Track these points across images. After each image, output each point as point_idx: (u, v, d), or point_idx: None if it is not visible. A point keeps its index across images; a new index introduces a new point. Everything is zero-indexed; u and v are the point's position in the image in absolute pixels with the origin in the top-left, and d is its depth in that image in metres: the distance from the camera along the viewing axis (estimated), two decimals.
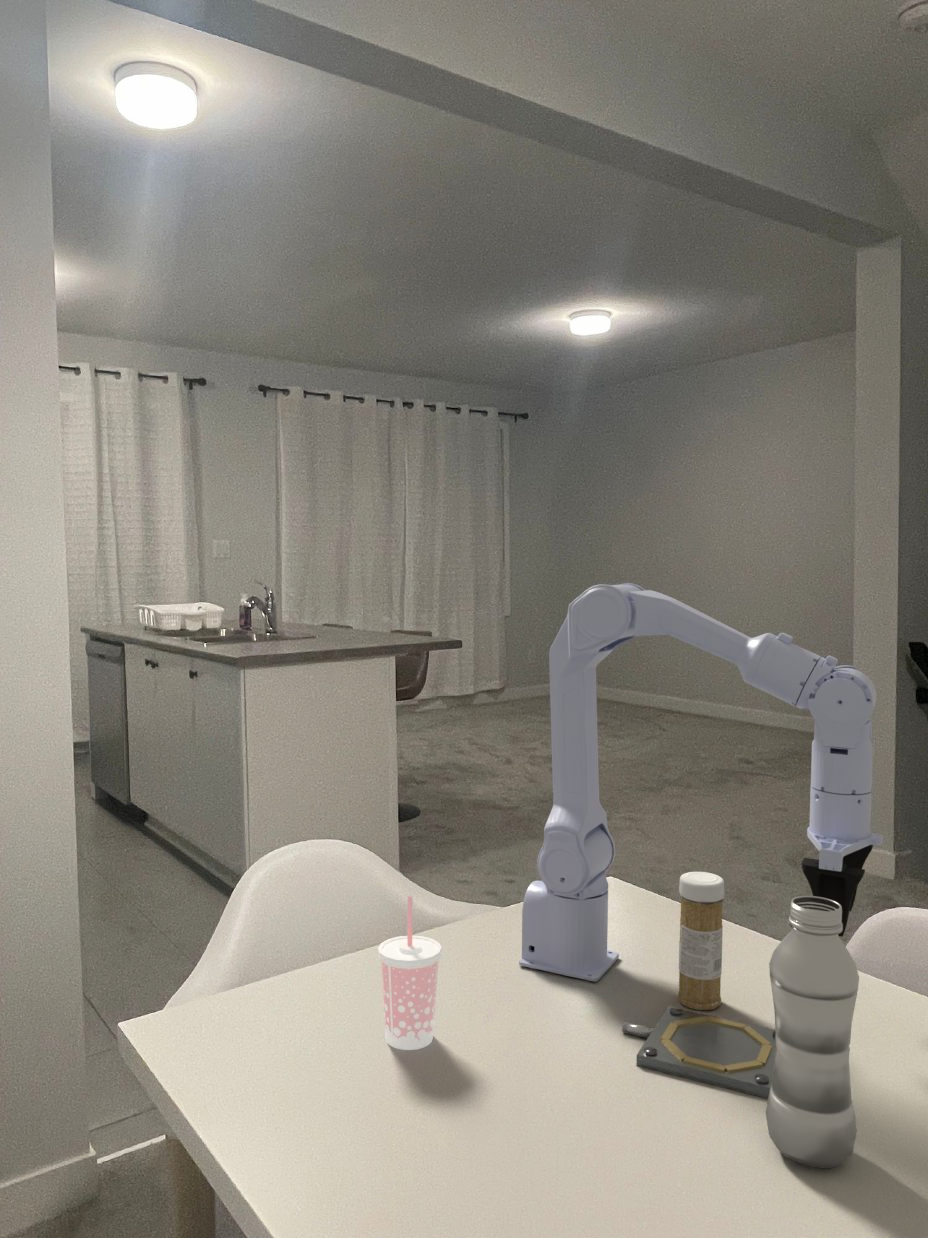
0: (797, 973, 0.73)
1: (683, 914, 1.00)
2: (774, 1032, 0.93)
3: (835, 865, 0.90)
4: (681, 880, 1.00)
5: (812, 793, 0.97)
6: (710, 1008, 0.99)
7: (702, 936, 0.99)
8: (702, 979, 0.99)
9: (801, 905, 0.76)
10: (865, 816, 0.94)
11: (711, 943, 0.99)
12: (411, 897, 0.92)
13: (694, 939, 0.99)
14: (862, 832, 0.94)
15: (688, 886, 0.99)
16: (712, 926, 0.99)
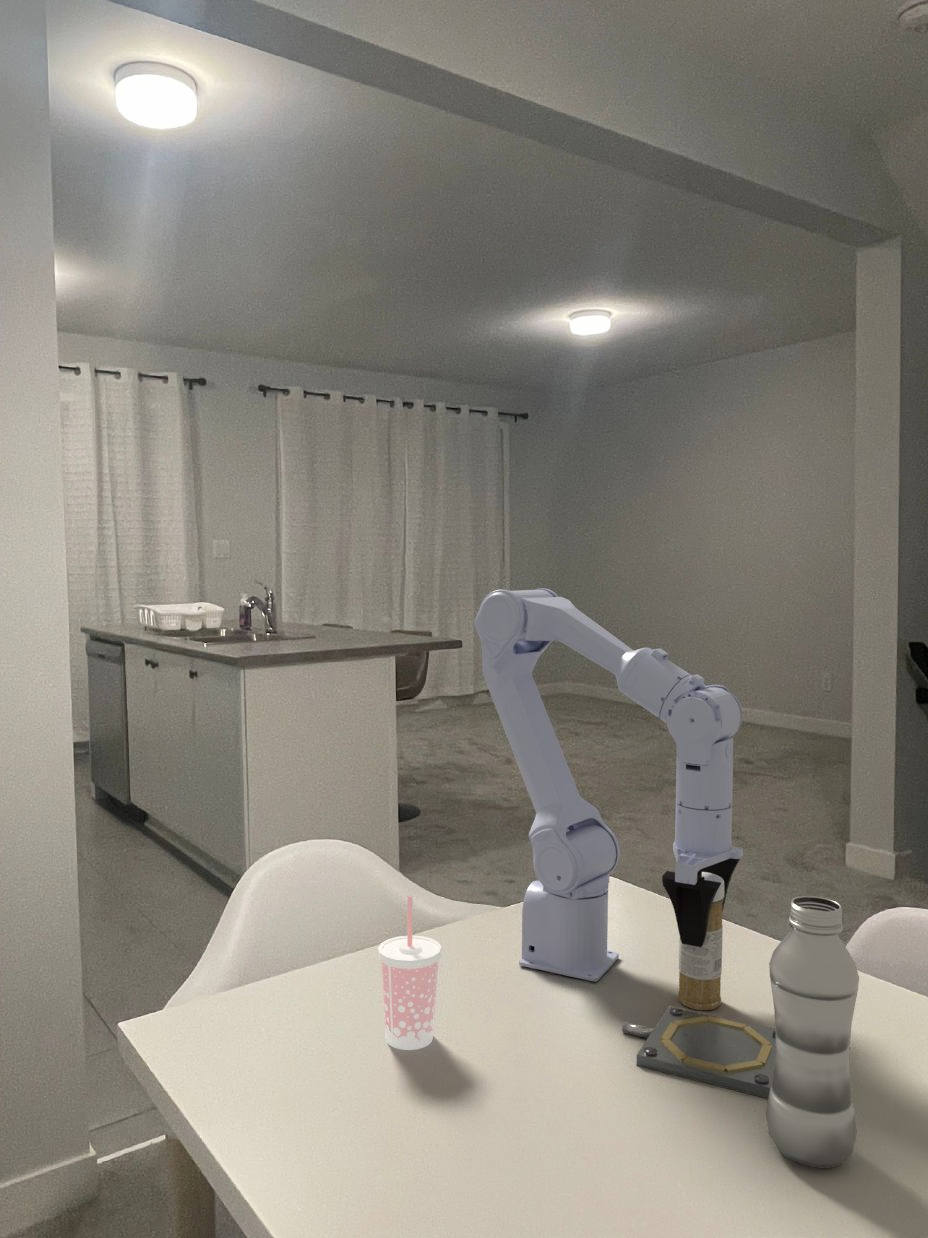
0: (797, 973, 0.73)
1: None
2: (774, 1032, 0.93)
3: (689, 878, 0.94)
4: None
5: (676, 808, 1.00)
6: (710, 1008, 0.99)
7: None
8: (702, 979, 0.99)
9: (801, 905, 0.76)
10: (724, 830, 0.98)
11: (711, 943, 0.99)
12: (411, 897, 0.92)
13: None
14: (721, 846, 0.98)
15: None
16: (712, 926, 0.99)
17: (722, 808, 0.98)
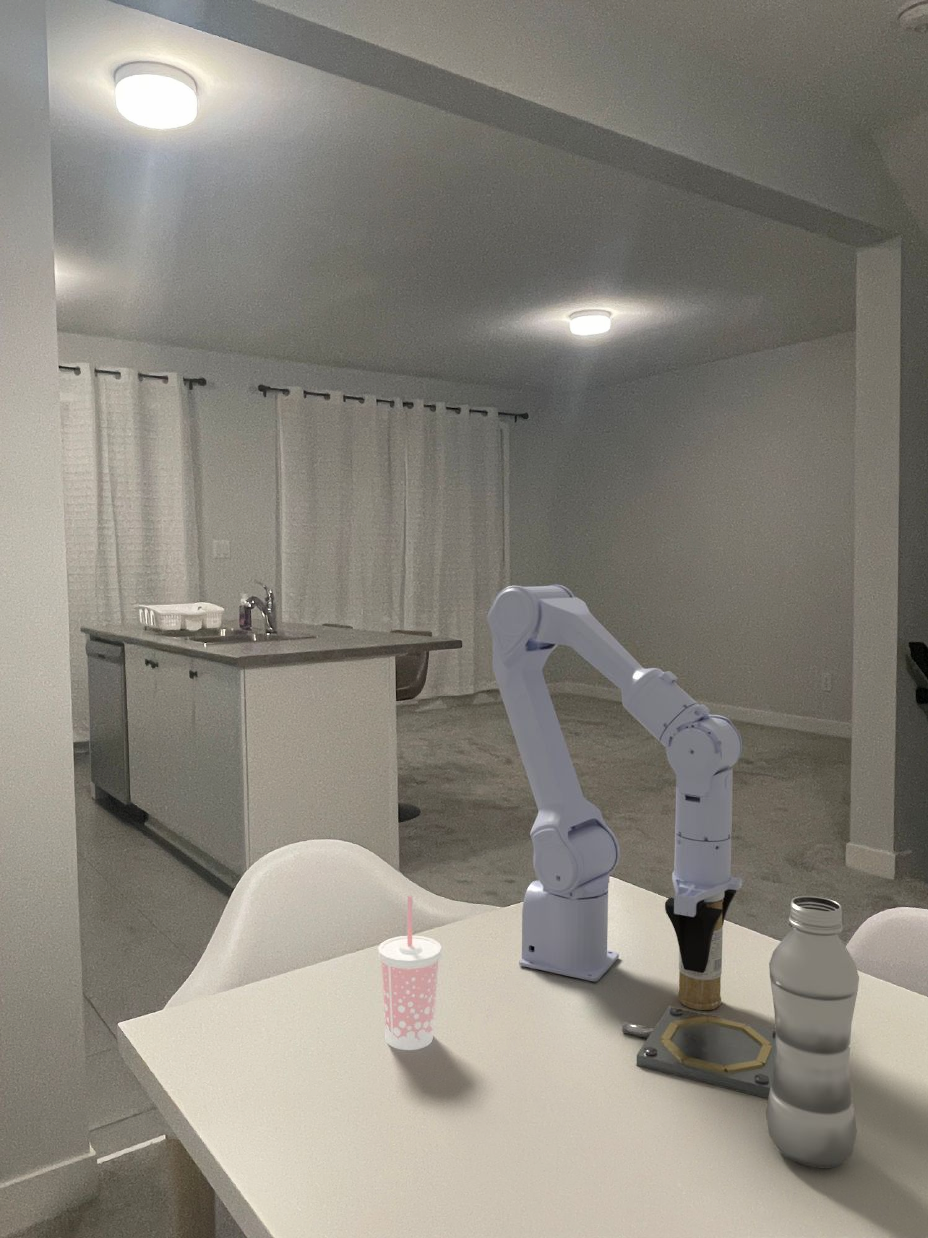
0: (797, 973, 0.73)
1: None
2: (774, 1032, 0.93)
3: (688, 911, 0.94)
4: None
5: (675, 838, 1.00)
6: (710, 1008, 0.99)
7: None
8: (702, 979, 0.99)
9: (801, 905, 0.76)
10: (723, 862, 0.98)
11: (711, 943, 0.99)
12: (411, 897, 0.92)
13: None
14: (720, 877, 0.98)
15: None
16: None
17: (721, 839, 0.98)
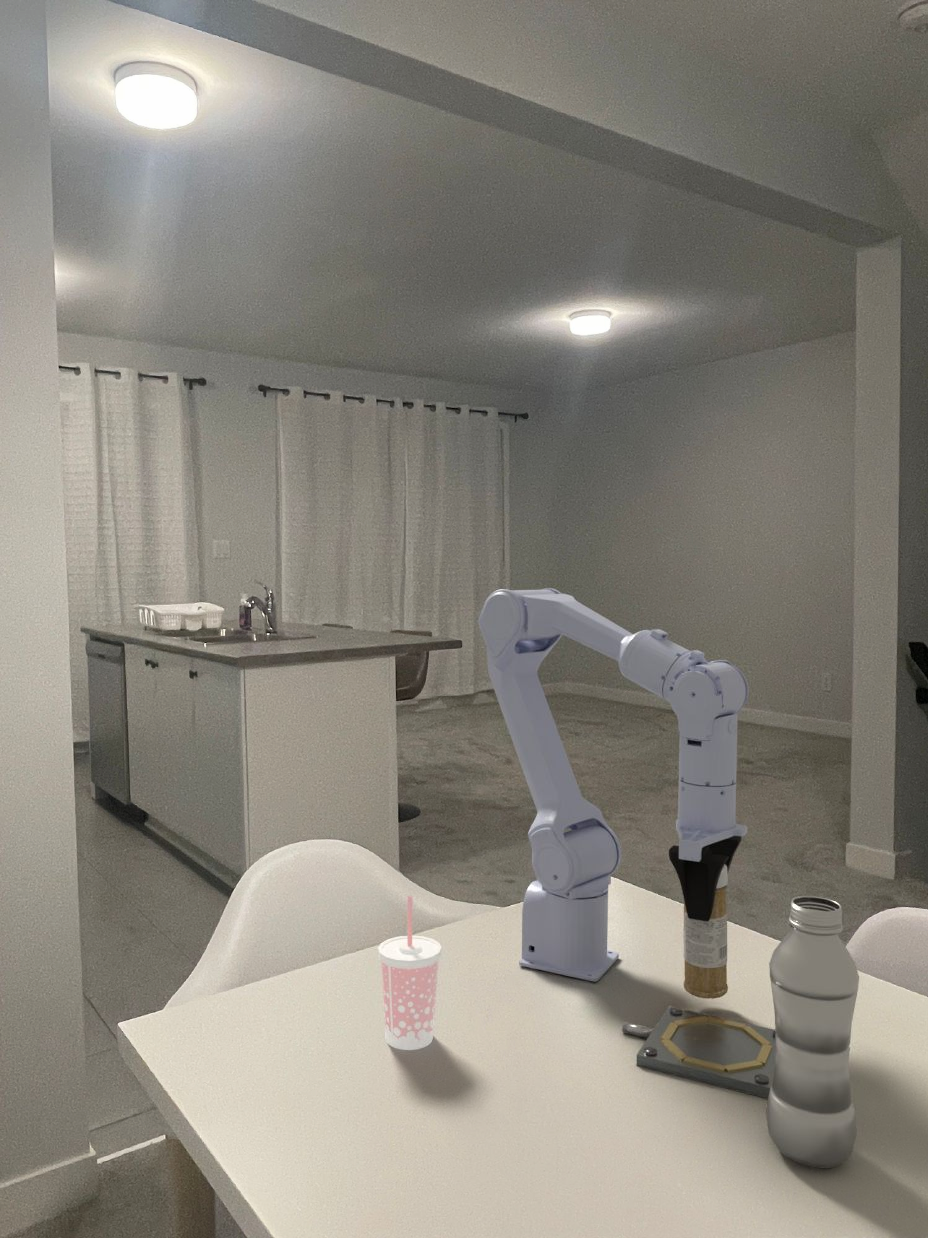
0: (797, 973, 0.73)
1: None
2: (774, 1032, 0.93)
3: (693, 855, 0.92)
4: None
5: (679, 785, 0.98)
6: (717, 996, 0.98)
7: (706, 924, 0.97)
8: (708, 967, 0.97)
9: (801, 905, 0.76)
10: (728, 807, 0.96)
11: (716, 930, 0.97)
12: (411, 897, 0.92)
13: (698, 926, 0.97)
14: (725, 823, 0.96)
15: None
16: (716, 913, 0.97)
17: (724, 785, 0.96)
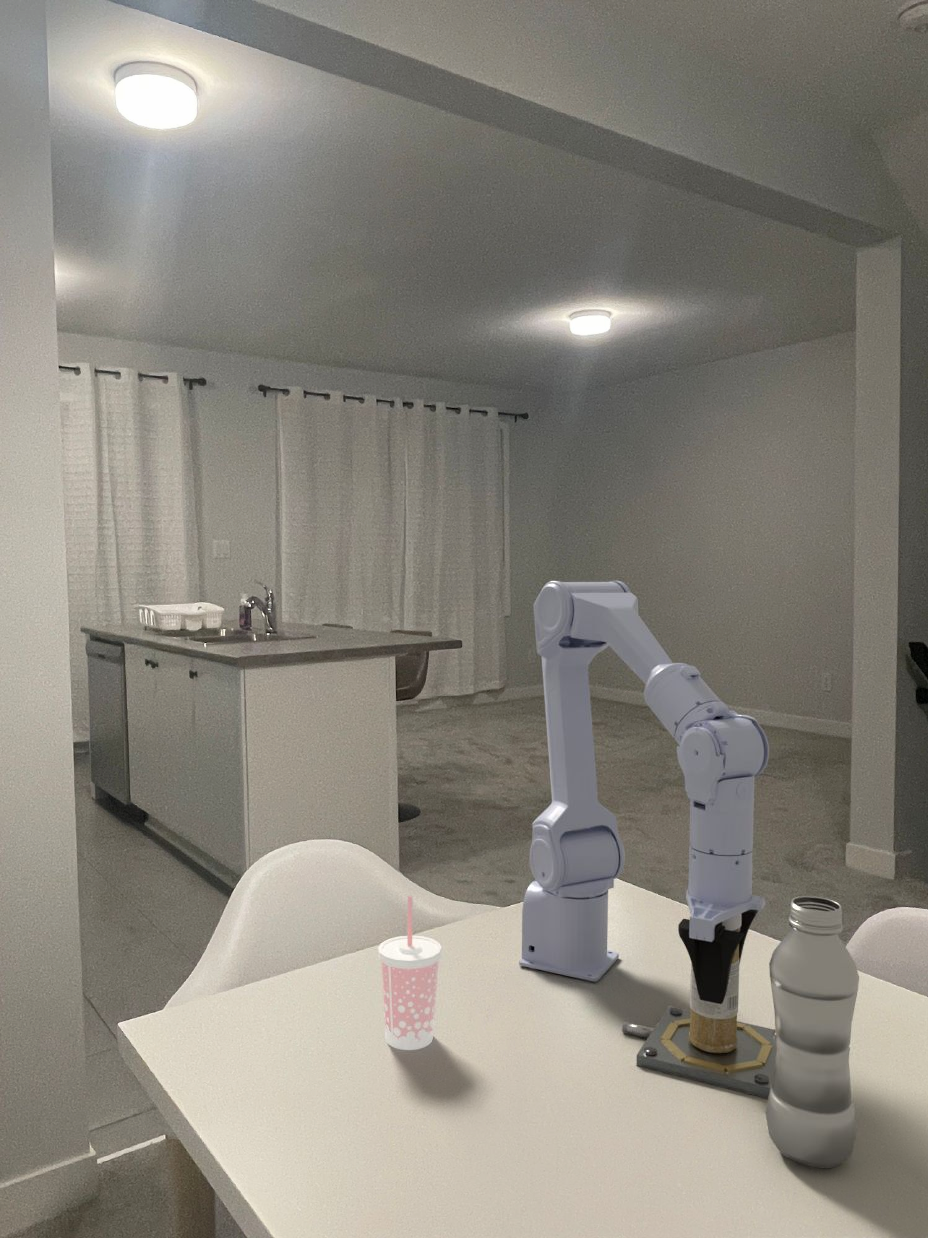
0: (797, 973, 0.73)
1: None
2: (774, 1032, 0.93)
3: (706, 935, 0.83)
4: None
5: (690, 852, 0.90)
6: (723, 1051, 0.88)
7: None
8: (715, 1018, 0.88)
9: (801, 905, 0.76)
10: (744, 878, 0.87)
11: None
12: (411, 897, 0.92)
13: None
14: (741, 896, 0.87)
15: None
16: None
17: (731, 854, 0.87)
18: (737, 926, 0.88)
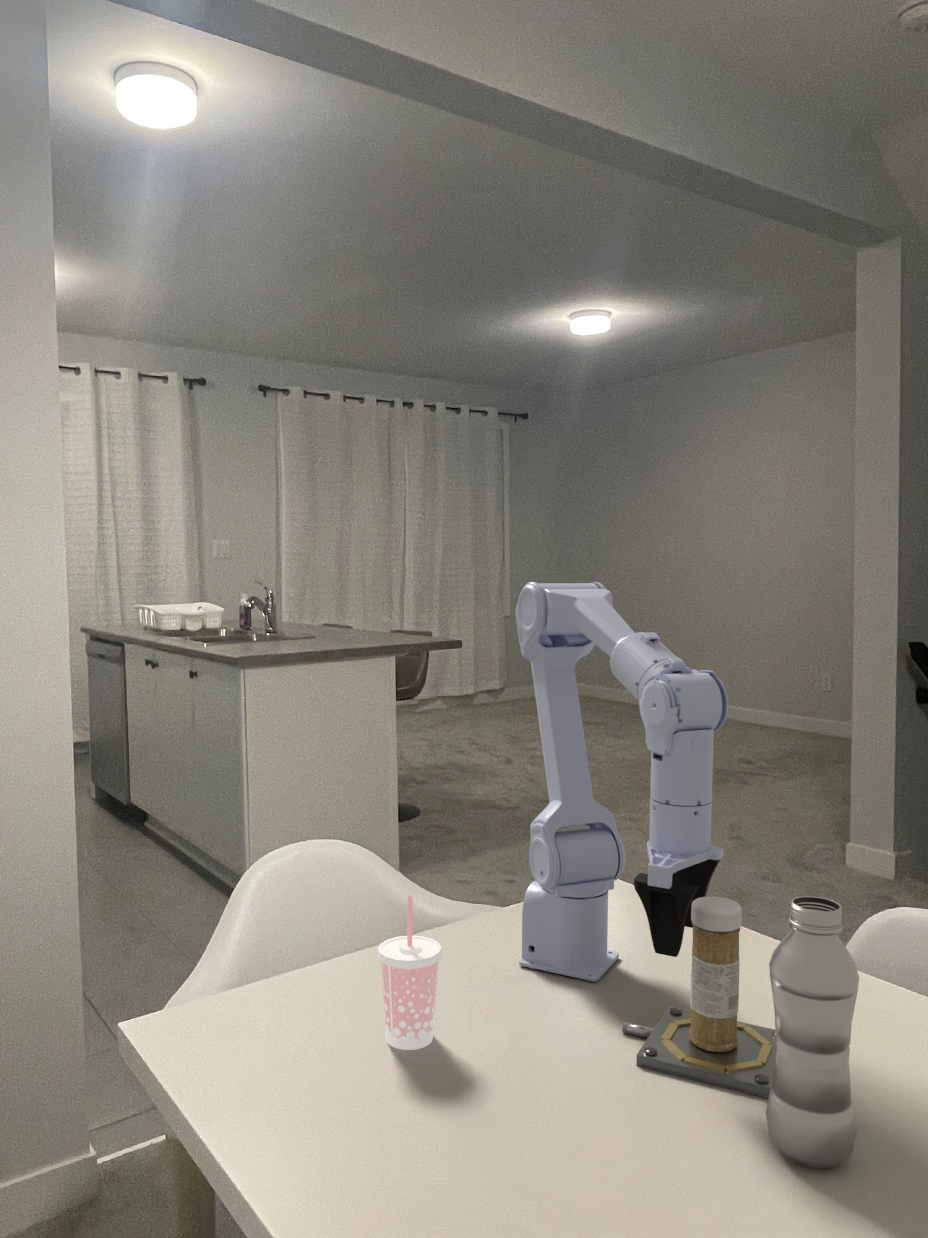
0: (797, 973, 0.73)
1: (694, 944, 0.90)
2: (774, 1032, 0.93)
3: (663, 882, 0.85)
4: (693, 906, 0.90)
5: (650, 804, 0.91)
6: (724, 1050, 0.89)
7: (715, 970, 0.88)
8: (715, 1018, 0.89)
9: (801, 905, 0.76)
10: (703, 829, 0.89)
11: (725, 977, 0.88)
12: (411, 897, 0.92)
13: (705, 972, 0.89)
14: (699, 846, 0.89)
15: (699, 913, 0.89)
16: (726, 959, 0.88)
17: (686, 805, 0.88)
18: (737, 926, 0.89)
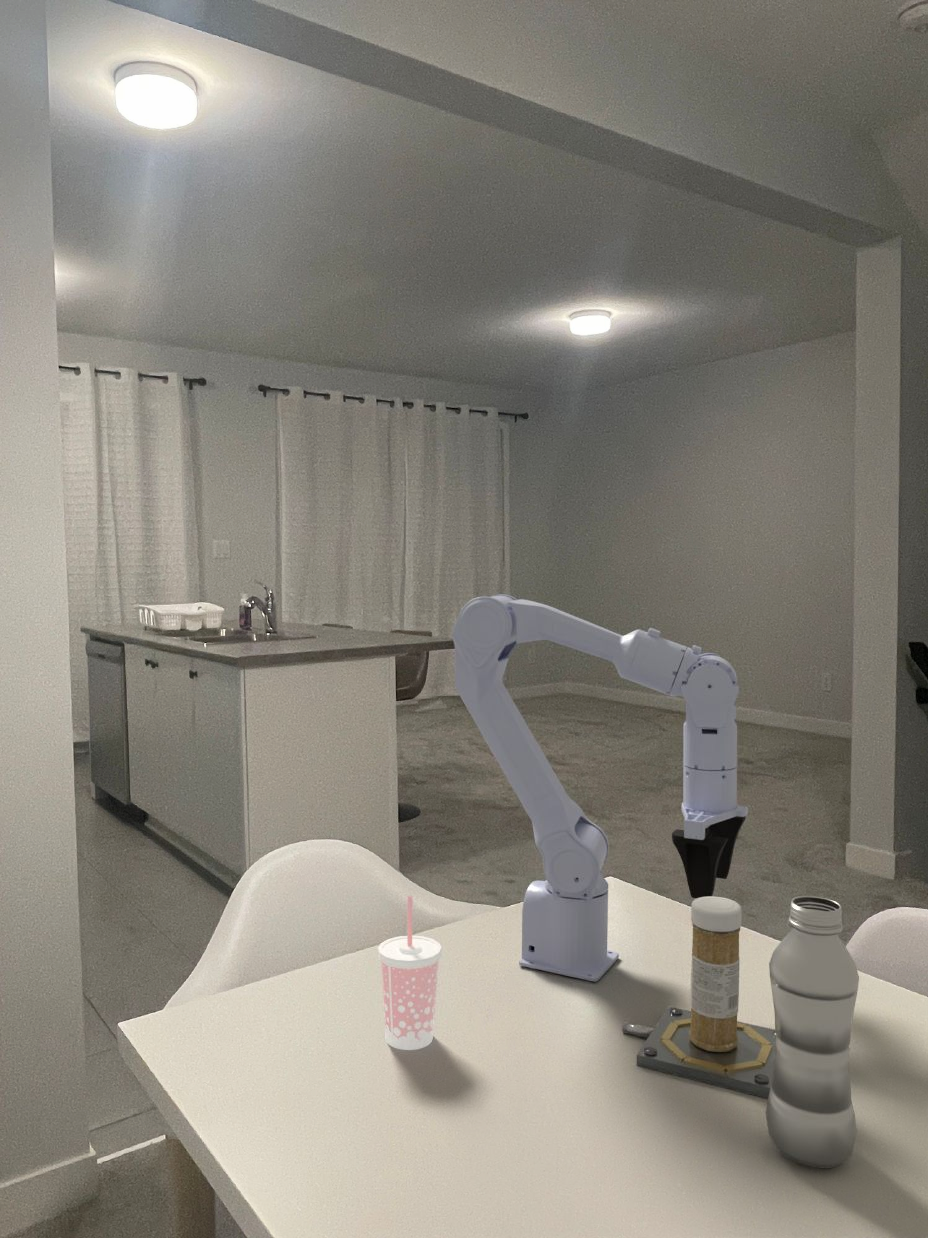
0: (797, 973, 0.73)
1: (694, 944, 0.90)
2: (774, 1032, 0.93)
3: (698, 834, 0.99)
4: (693, 906, 0.90)
5: (684, 770, 1.06)
6: (724, 1050, 0.89)
7: (715, 970, 0.88)
8: (715, 1018, 0.89)
9: (801, 905, 0.76)
10: (730, 790, 1.03)
11: (725, 977, 0.88)
12: (411, 897, 0.92)
13: (705, 972, 0.89)
14: (727, 805, 1.03)
15: (699, 913, 0.89)
16: (726, 959, 0.88)
17: (734, 767, 1.04)
18: (737, 926, 0.89)
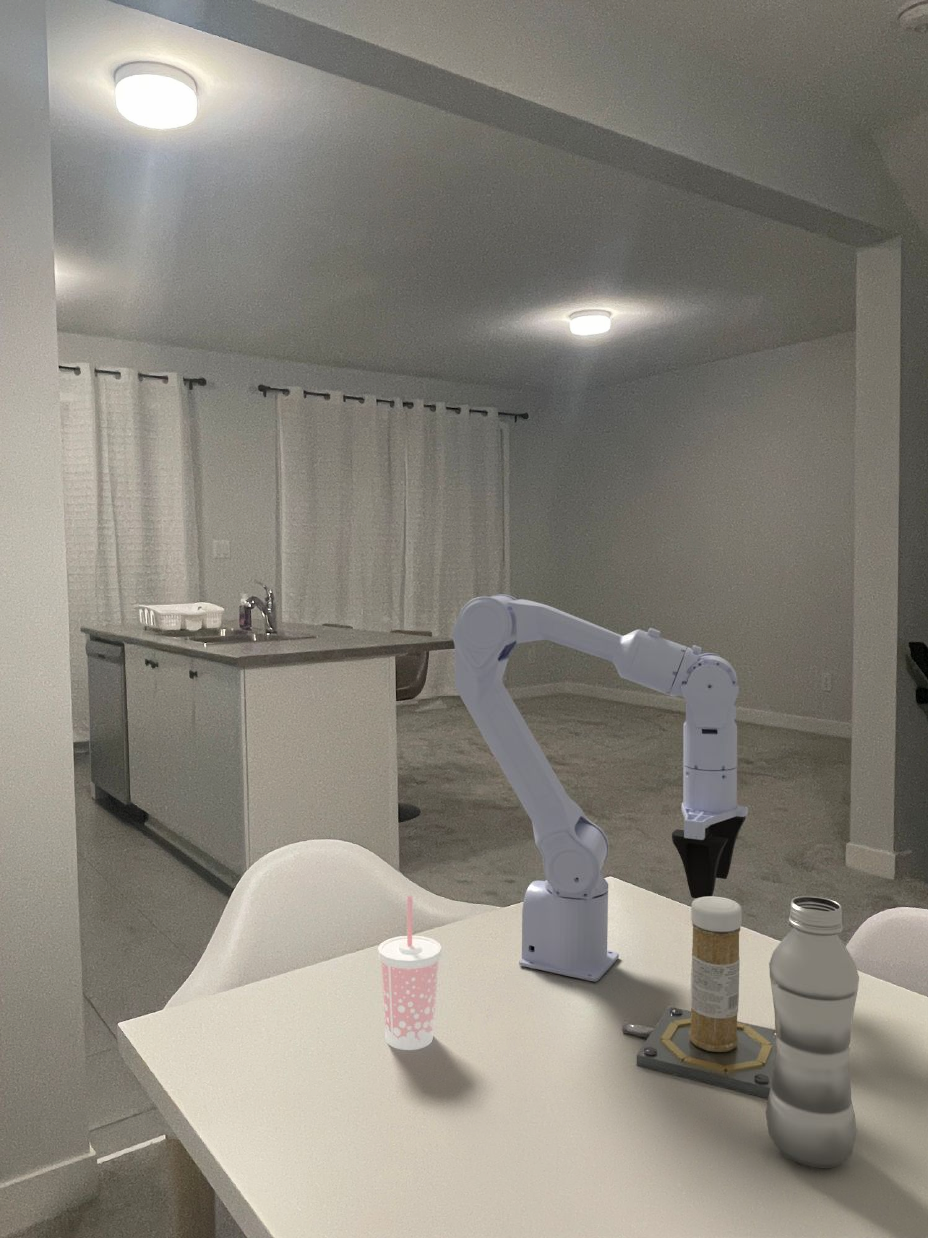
0: (797, 973, 0.73)
1: (694, 944, 0.90)
2: (774, 1032, 0.93)
3: (698, 834, 0.99)
4: (693, 906, 0.90)
5: (684, 770, 1.06)
6: (724, 1050, 0.89)
7: (715, 970, 0.88)
8: (715, 1018, 0.89)
9: (801, 905, 0.76)
10: (730, 790, 1.03)
11: (725, 977, 0.88)
12: (411, 897, 0.92)
13: (705, 972, 0.89)
14: (727, 805, 1.03)
15: (699, 913, 0.89)
16: (726, 959, 0.88)
17: (734, 767, 1.04)
18: (737, 926, 0.89)
